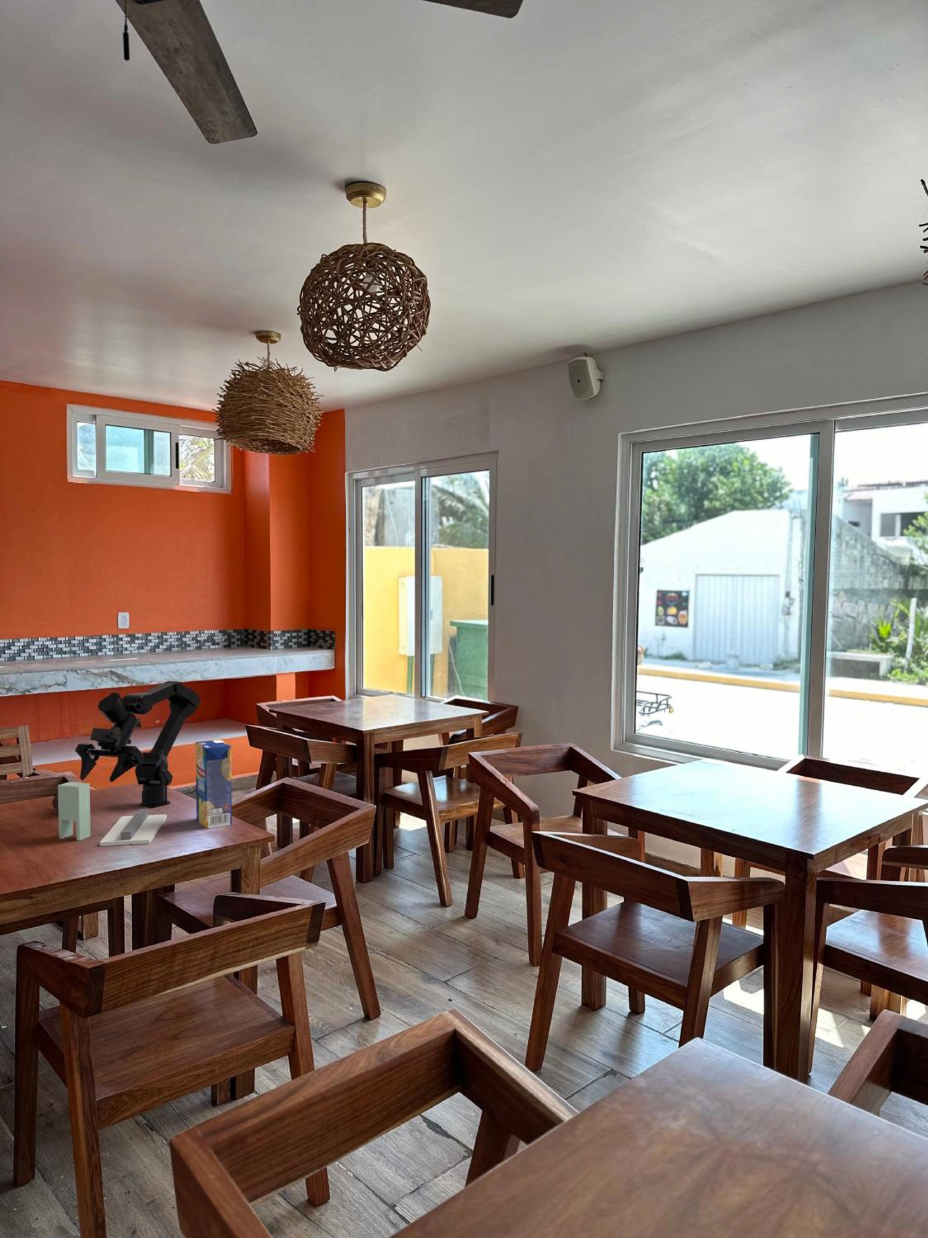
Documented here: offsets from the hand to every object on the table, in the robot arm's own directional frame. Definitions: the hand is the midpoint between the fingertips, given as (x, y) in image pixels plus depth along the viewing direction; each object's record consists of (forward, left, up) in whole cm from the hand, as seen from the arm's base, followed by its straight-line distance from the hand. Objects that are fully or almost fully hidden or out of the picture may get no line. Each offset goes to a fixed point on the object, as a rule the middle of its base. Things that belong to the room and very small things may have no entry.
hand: (95, 780), depth 223 cm
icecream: (-4, -23, -13) cm, 27 cm away
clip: (+8, +3, -13) cm, 15 cm away
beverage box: (-22, +21, -13) cm, 33 cm away
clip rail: (-5, +11, -13) cm, 18 cm away
